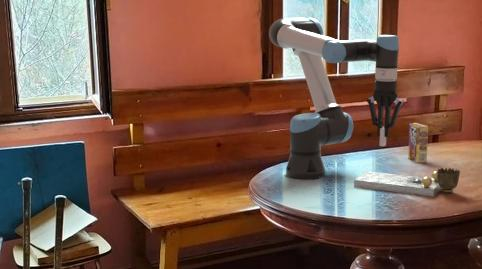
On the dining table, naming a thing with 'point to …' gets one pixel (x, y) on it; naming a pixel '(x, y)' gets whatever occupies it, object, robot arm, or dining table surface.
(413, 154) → the candy box
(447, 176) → the olive brown rounded bowl
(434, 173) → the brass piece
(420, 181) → the steel ball
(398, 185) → the plate
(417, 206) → the dining table surface
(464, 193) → the dining table surface
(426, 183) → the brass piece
